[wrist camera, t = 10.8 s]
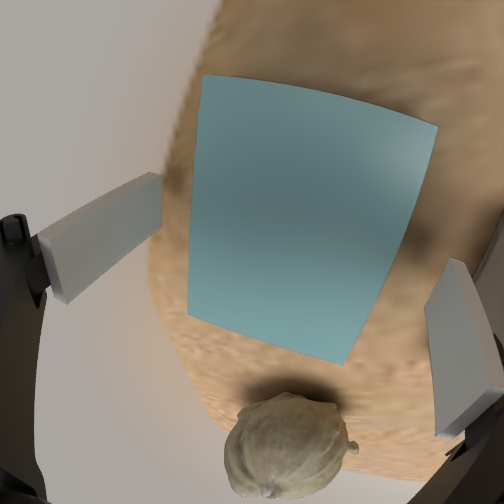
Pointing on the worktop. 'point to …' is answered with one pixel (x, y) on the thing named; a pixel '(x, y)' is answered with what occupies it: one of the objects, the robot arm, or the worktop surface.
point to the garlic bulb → (286, 447)
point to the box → (492, 284)
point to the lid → (298, 210)
